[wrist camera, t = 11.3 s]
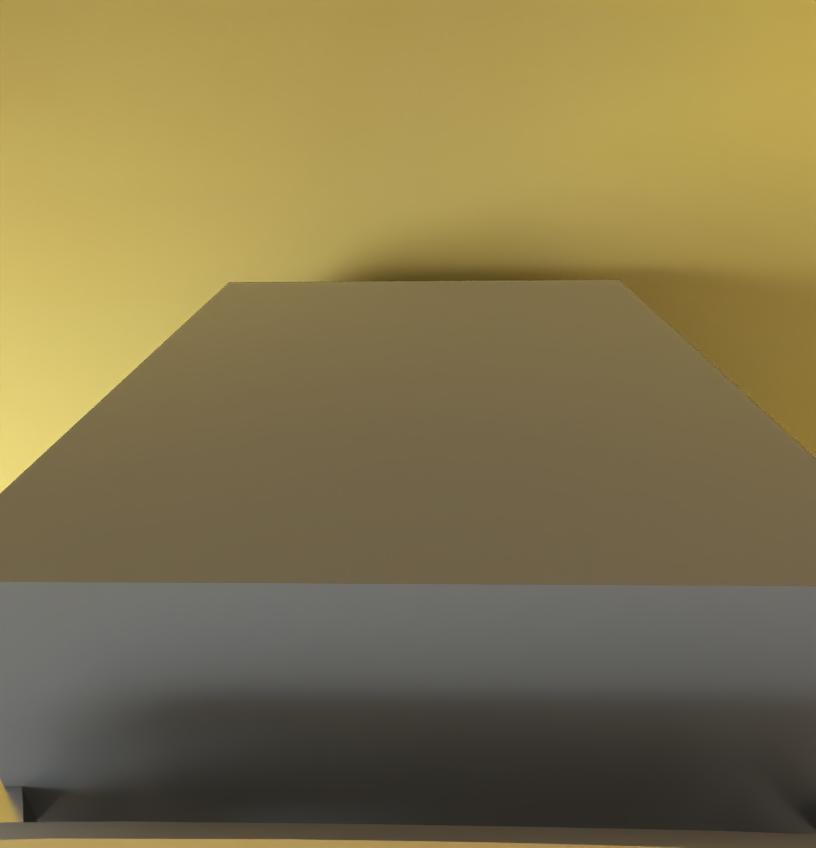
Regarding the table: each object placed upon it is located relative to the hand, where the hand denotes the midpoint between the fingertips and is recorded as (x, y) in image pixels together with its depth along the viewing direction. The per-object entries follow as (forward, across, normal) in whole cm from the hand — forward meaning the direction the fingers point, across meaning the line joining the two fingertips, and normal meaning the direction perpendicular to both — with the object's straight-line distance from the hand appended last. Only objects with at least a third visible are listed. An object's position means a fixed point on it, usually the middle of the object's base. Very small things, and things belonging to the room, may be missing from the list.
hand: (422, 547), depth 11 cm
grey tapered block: (+4, 0, 0) cm, 4 cm away
